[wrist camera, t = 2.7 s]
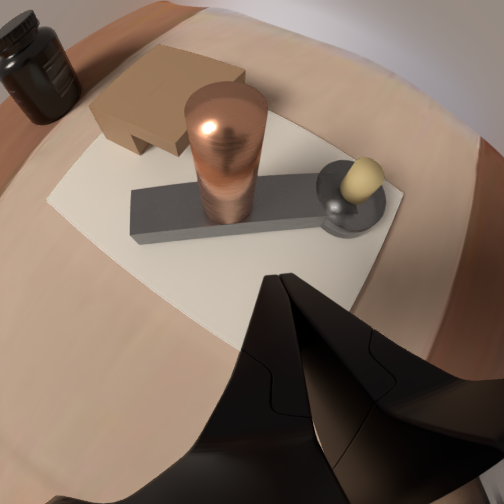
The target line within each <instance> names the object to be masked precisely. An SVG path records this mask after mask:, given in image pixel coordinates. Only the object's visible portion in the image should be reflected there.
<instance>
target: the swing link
mask: <svg viewBox="0 0 504 504" xmlns="http://www.w3.org/2000/svg"><path fill="white" fill-rule="evenodd" d="M184 115H185V121H186V126H187V131H188V137H189V142H190V147H191V152H192V157H193V162H194V167H195V172H196V177H197V181H198V182H189V183H180V184H172V185H164V186H157V187H150V188H143V189H136V190H131V200H130V236H131V237H132V238H133V239H134V240H135V241H136V242H137V243H138V244H139V245H144V244H153V243H162V242H171V241H180V240H189V239H199V238H208V237H218V236H228V235H238V234H249V233H259V232H270V231H281V230H292V229H303V228H315V227H321V228H322V229H323V230H324V231H326V232H327V233H329V234H331V235H333V236H335V237H339V238H344V239H351V238H356V237H359V236H360V235H362V234H364V233H365V232H366V231H367V230H369V229H370V228H371V227H372V226H374V225H375V224H376V223H377V222H378V221H379V220H380V219H381V218H382V216H383V214H384V212H385V208H386V196H385V191H384V189H383V186H382V185H381V186H380V187H379V188H378V189H377V190H376V191H375V192H374V193H373V194H372V195H371V196H370V197H369V198H368V199H367V200H366V202H364V203H363V204H360V205H355V204H352V203H350V202H348V201H347V200H346V199H345V198H344V197H343V196H342V194H341V191H340V184H341V182H342V180H343V179H344V177H345V176H346V174H347V173H348V171H349V170H350V168H351V167H352V166H353V164H354V163H355V162H354V161H350V160H337V161H334V162H331V163H329V164H327V165H326V166H325V167H324V168H323V169H322V170H321V171H320V173H306V174H284V175H267V176H258V170H259V163H260V157H261V151H262V145H263V139H264V133H265V127H266V121H267V115H268V105H267V102H266V100H265V98H264V97H263V95H262V94H261V93H260V92H259V91H257V90H256V89H255V88H253V87H251V86H249V85H246V84H243V83H239V82H233V81H222V82H215V83H211V84H208V85H206V86H203V87H202V88H200V89H198V90H197V91H195V92H194V93H193V94H192V95H191V96H190V97H189V99H188V100H187V102H186V104H185V108H184Z"/></svg>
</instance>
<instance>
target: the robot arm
mask: <svg viewBox="0 0 504 504" xmlns="http://www.w3.org/2000/svg"><path fill="white" fill-rule="evenodd" d="M372 330H373V331H372ZM312 419H313V420H312ZM313 422H314V425H315V428H316V431H317V434H318V436H319V439H320V442H321V445H322V448H323V450H322V448H321V446H320V444H319V442H318V440H317V437H316V434H315V430H314V425H313ZM323 451H324V452H323ZM46 504H102V503H92V502H88V501H84V500H79V499H75V498H71V497H66V496H55V497H53V498H52V499H51V500H49V501H48V502H47V503H46ZM104 504H504V379H495V380H481V381H471V380H464V379H460V378H457V377H455V376H453V375H451V374H449V373H447V372H445V371H443V370H441V369H440V368H438V367H436V366H434V365H432V364H430V363H429V362H427V361H425V360H423V359H421V358H420V357H418V356H416V355H414V354H413V353H411V352H409V351H407V350H406V349H404V348H402V347H401V346H399V345H397V344H396V343H394V342H393V341H391V340H390V339H388V338H387V337H385V336H384V335H382V334H381V333H379V332H378V331H376V330H375V329H373V328H372V327H371V326H369V325H368V324H366V323H365V322H363V321H362V320H360V319H359V318H358V317H356V316H355V315H353V314H352V313H350V312H349V311H347V310H346V309H345V308H343V307H342V306H340V305H339V304H337V303H336V302H334V301H333V300H332V299H330V298H329V297H327V296H326V295H324V294H323V293H321V292H320V291H318V290H317V289H316V288H314V287H313V286H311V285H310V284H308V283H307V282H305V281H304V280H302V279H301V278H300V277H298V276H297V275H295V274H294V273H283V274H279V276H278V275H277V274H273V275H265V276H264V277H263V280H262V283H261V286H260V290H259V293H258V296H257V299H256V303H255V306H254V309H253V312H252V315H251V318H250V322H249V325H248V328H247V331H246V334H245V337H244V341H243V344H242V347H241V350H240V352H239V355H238V359H237V362H236V364H235V367H234V370H233V372H232V375H231V378H230V380H229V382H228V384H227V386H226V388H225V390H224V392H223V394H222V396H221V398H220V400H219V402H218V403H217V405H216V407H215V409H214V411H213V413H212V414H211V416H210V418H209V420H208V422H207V423H206V425H205V427H204V429H203V431H202V432H201V434H200V436H199V437H198V439H197V440H196V442H195V443H194V445H193V446H192V447H191V449H190V450H189V451H188V452H187V453H186V454H185V455H184V456H183V457H182V458H180V459H179V460H178V461H177V462H175V463H174V464H173V465H172V466H170V467H169V468H168V469H166V470H165V471H164V472H163V473H161V474H160V475H159V476H157V477H156V478H155V479H153V480H152V481H151V482H149V483H148V484H147V485H145V486H144V487H142V488H141V489H140V490H138V491H137V492H135V493H134V494H133V495H131V496H129V497H127V498H125V499H123V500H120V501H117V502H113V503H104Z"/></svg>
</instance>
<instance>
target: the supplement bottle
mask: <svg viewBox="0 0 504 504" xmlns="http://www.w3.org/2000/svg"><path fill="white" fill-rule="evenodd" d="M39 24H40V22H39V20H38V19H37V18H36V15H35V14H34V12H33V10H28V11H26V12H23V13H21V14H20V15H18V16H16V17H15V18H13V19H12V20H11V21H9V22H8V23H7V24H5V25H4V26H3V27H2V28H1V29H0V82H1V83H2V84H3V86H4V87H5V89H6V90H7V91H8V93H9V94H10V95H11V97H12V98H13V99H14V100H15V102H16V103H17V104H18V106H19V107H20V108H21V110H22V111H23V112H24V113H25V115H26V116H27V117H28V118H29V119H30V121H31V122H32V123H34V124H36V125H45V124H48V123H51V122H53V121H55V120H57V119H58V118H60V117H61V116H62V115H64V114H65V113H66V112H67V111H68V110H69V109H70V108H71V107H72V106H73V105H74V103H75V102H76V100H77V99H78V97H79V94H80V91H81V83H80V81H79V79H78V77H77V75H76V73H75V71H74V69H73V67H72V65H71V63H70V61H69V59H68V57H67V55H66V53H65V51H64V49H63V47H62V44H61V42H60V40H59V39H58V36H57V34H56V32H55V31H54V30H53V29H52V28H50V27H38V26H39Z"/></svg>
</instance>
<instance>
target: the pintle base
mask: <svg viewBox="0 0 504 504" xmlns="http://www.w3.org/2000/svg"><path fill="white" fill-rule="evenodd" d="M222 81H233V82H239V83H243V84H245V70H244V69H242V68H239V67H236V66H233V65H230V64H227V63H224V62H221V61H218V60H215V59H212V58H209V57H205V56H202V55H199V54H195V53H192V52H188V51H184V50H180V49H177V48H173V47H168V46H164V45H160V44H158V45H157V46H156V47H154V48H153V49H152V50H150V51H149V52H148V53H146V54H145V55H144V56H143V57H141V58H140V59H139V60H138V61H136V62H135V63H134V64H133V65H132V66H130V67H129V68H128V69H127V70H126V71H125V72H123V73H122V74H121V75H120V76H119V77H118V78H117V79H116V80H114V81H113V82H112V83H111V84H110V85H109V86H108V87H107V88H106V89H105V90H104V91H103V92H102V93H101V94H99V95H98V96H97V97H96V98H95V99H94V100H93V101H92V102H91V103H90V104H89V105H88V106H89V108H90V110H91V112H92V114H93V115H94V117H95V119H96V121H97V123H98V125H99V126H100V128H101V130H102V133H101V134H100V135H99V137H98V138H97V139H96V140H95V141H94V142H93V143H92V144H91V145H90V146H89V147H88V149H87V150H86V151H85V152H84V153H83V154H82V155H81V156H80V158H79V159H78V160H77V161H76V162H75V164H74V165H73V166H72V167H71V168H70V170H69V171H68V172H67V173H66V174H65V176H64V177H63V178H62V179H61V181H60V182H59V183H58V185H57V186H56V187H55V188H54V190H53V191H52V192H51V194H50V195H49V196H48V198H47V199H46V201H47V202H48V203H49V204H50V205H51V206H52V207H53V208H55V209H56V210H57V211H58V212H59V213H60V214H61V215H62V216H63V217H64V218H65V219H66V220H68V221H69V222H70V223H71V224H72V225H73V226H74V227H75V228H76V229H78V230H79V231H80V232H81V233H82V234H83V235H84V236H86V237H87V238H88V239H89V240H90V241H91V242H92V243H94V244H95V245H96V246H97V247H98V248H100V249H101V250H102V251H103V252H104V253H106V254H107V255H108V256H109V257H110V258H112V259H113V260H114V261H115V262H116V263H118V264H119V265H120V266H121V267H123V268H124V269H125V270H126V271H128V272H129V273H130V274H131V275H133V276H134V277H135V278H137V279H138V280H139V281H140V282H142V283H143V284H144V285H146V286H147V287H148V288H150V289H151V290H152V291H154V292H155V293H156V294H158V295H159V296H160V297H162V298H163V299H164V300H166V301H167V302H168V303H170V304H171V305H173V306H174V307H175V308H177V309H178V310H179V311H181V312H182V313H184V314H185V315H186V316H188V317H189V318H191V319H192V320H194V321H195V322H197V323H198V324H199V325H201V326H202V327H204V328H205V329H207V330H208V331H210V332H211V333H213V334H214V335H216V336H217V337H219V338H220V339H222V340H223V341H225V342H226V343H228V344H229V345H231V346H232V347H234V348H236V349H237V350H239V351H240V350H241V347H242V344H243V341H244V337H245V334H246V331H247V328H248V325H249V322H250V318H251V315H252V312H253V309H254V306H255V303H256V299H257V296H258V293H259V290H260V286H261V283H262V280H263V277H264V276H265V275H273V274H277V275H278V276H279V274H283V273H294V274H295V275H297V276H298V277H300V278H301V279H302V280H304V281H305V282H307V283H308V284H310V285H311V286H313V287H314V288H316V289H317V290H318V291H320V292H321V293H323V294H324V295H326V296H327V297H329V298H330V299H332V300H333V301H334V302H336V303H337V304H339V305H340V306H342V307H343V308H345V309H346V310H347V311H350V309H351V307H352V305H353V303H354V302H355V300H356V298H357V296H358V294H359V292H360V290H361V288H362V286H363V284H364V282H365V280H366V278H367V276H368V274H369V272H370V270H371V268H372V266H373V264H374V262H375V259H376V257H377V255H378V253H379V251H380V249H381V246H382V244H383V242H384V240H385V238H386V235H387V233H388V231H389V228H390V226H391V224H392V221H393V219H394V217H395V214H396V212H397V209H398V207H399V204H400V202H401V199H402V197H403V194H404V193H402V192H401V191H400V190H398V189H397V188H396V187H394V186H393V185H391V184H390V183H389V182H387V181H386V180H384V172H383V170H382V168H381V166H380V165H379V164H378V163H377V162H376V161H374V160H372V159H370V158H366V157H362V158H359V159H357V160H355V159H353V158H352V157H350V156H348V155H347V154H345V153H344V152H342V151H341V150H339V149H337V148H336V147H334V146H332V145H331V144H329V143H327V142H326V141H324V140H322V139H321V138H319V137H317V136H315V135H314V134H312V133H310V132H308V131H307V130H305V129H303V128H301V127H299V126H298V125H296V124H294V123H292V122H290V121H288V120H287V119H285V118H283V117H281V116H279V115H277V114H275V113H273V112H271V111H269V110H268V115H267V121H266V127H265V133H264V139H263V145H262V151H261V157H260V163H259V170H258V176H267V175H284V174H306V173H320V171H321V170H322V169H323V168H324V167H325V166H326V165H327V164H329V163H331V162H334V161H337V160H350V161H354V162H355V163H354V164H353V166H352V167H351V168H350V170H349V171H348V173H347V174H346V176H345V177H344V179H343V180H342V182H341V184H340V191H341V194H342V196H343V197H344V198H345V199H346V200H347V201H348V202H350V203H352V204H355V205H360V204H363V203H364V202H366V200H367V199H368V198H369V197H370V196H371V195H372V194H373V193H374V192H375V191H376V190H377V189H378V188H379V187H380V186H381V185H382V186H383V189H384V191H385V196H386V208H385V212H384V214H383V216H382V218H381V219H380V220H379V221H378V222H377V223H376V224H375V225H374V226H372V227H371V228H370V229H369V230H367V231H366V232H365V233H364V234H362V235H360V236H359V237H356V238H351V239H344V238H339V237H335V236H333V235H331V234H329V233H327V232H326V231H324V230H323V229H322V228H321V227H315V228H303V229H292V230H281V231H270V232H259V233H249V234H238V235H228V236H218V237H208V238H199V239H189V240H180V241H171V242H162V243H153V244H144V245H139V244H138V243H137V242H136V241H135V240H134V239H133V238H132V237H131V236H130V200H131V190H136V189H143V188H150V187H157V186H164V185H172V184H180V183H189V182H198V181H197V177H196V172H195V167H194V162H193V157H192V152H191V147H190V142H189V137H188V131H187V126H186V121H185V115H184V108H185V104H186V102H187V100H188V99H189V97H190V96H191V95H192V94H193V93H194V92H195V91H197V90H198V89H200V88H202V87H203V86H206V85H208V84H211V83H215V82H222Z"/></svg>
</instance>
